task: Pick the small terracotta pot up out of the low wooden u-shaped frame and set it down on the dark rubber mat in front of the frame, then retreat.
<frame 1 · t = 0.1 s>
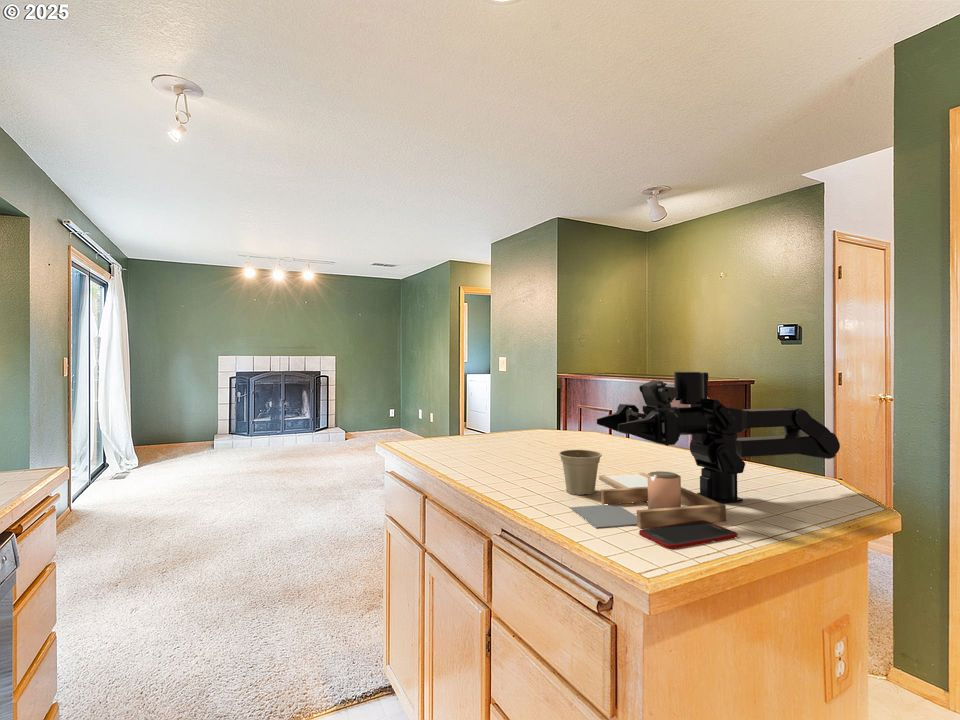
hand: (607, 424, 98), 17 cm above the table, tool horizontal, fingers open, 9 cm apart
mat: (607, 515, 92), on the table
wooden u-shaped frame: (659, 511, 95), on the table
flower pot: (580, 492, 109), on the table
cell phone: (687, 538, 82), on the table
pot: (664, 511, 95), resting in wooden u-shaped frame
wood framed whiteboard: (639, 486, 114), on the table
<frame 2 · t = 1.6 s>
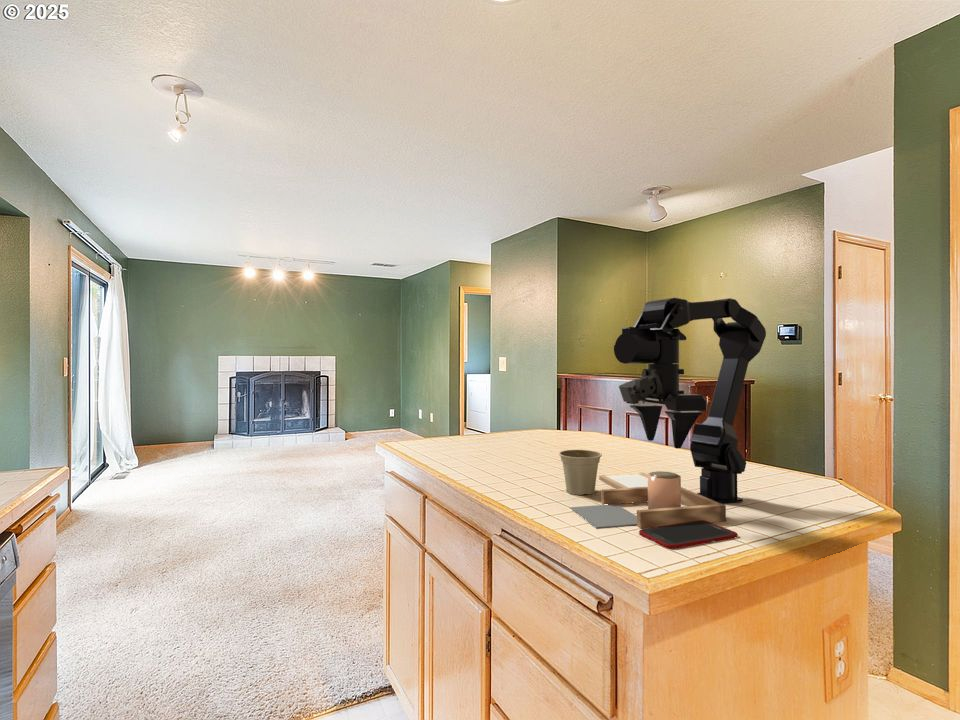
hand: (663, 444, 95), 13 cm above the table, tool pointing down, fingers open, 9 cm apart
nothing on the table moved.
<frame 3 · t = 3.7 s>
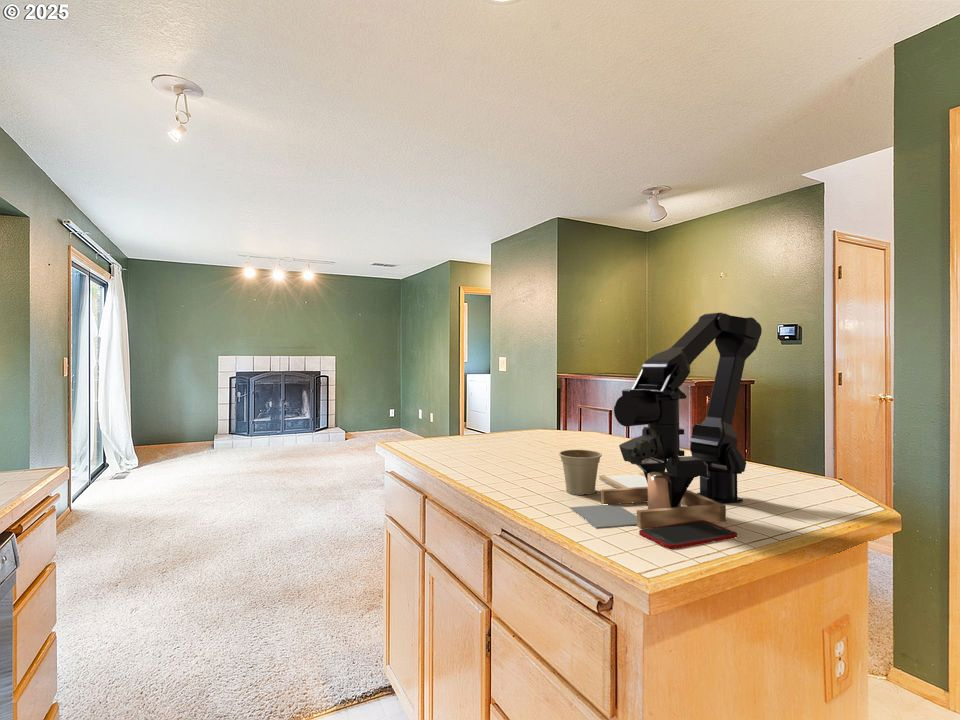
hand: (664, 503, 95), 2 cm above the table, tool pointing down, fingers closed on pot, 6 cm apart
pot: (664, 511, 95), resting in wooden u-shaped frame, touching gripper
everything else where it was.
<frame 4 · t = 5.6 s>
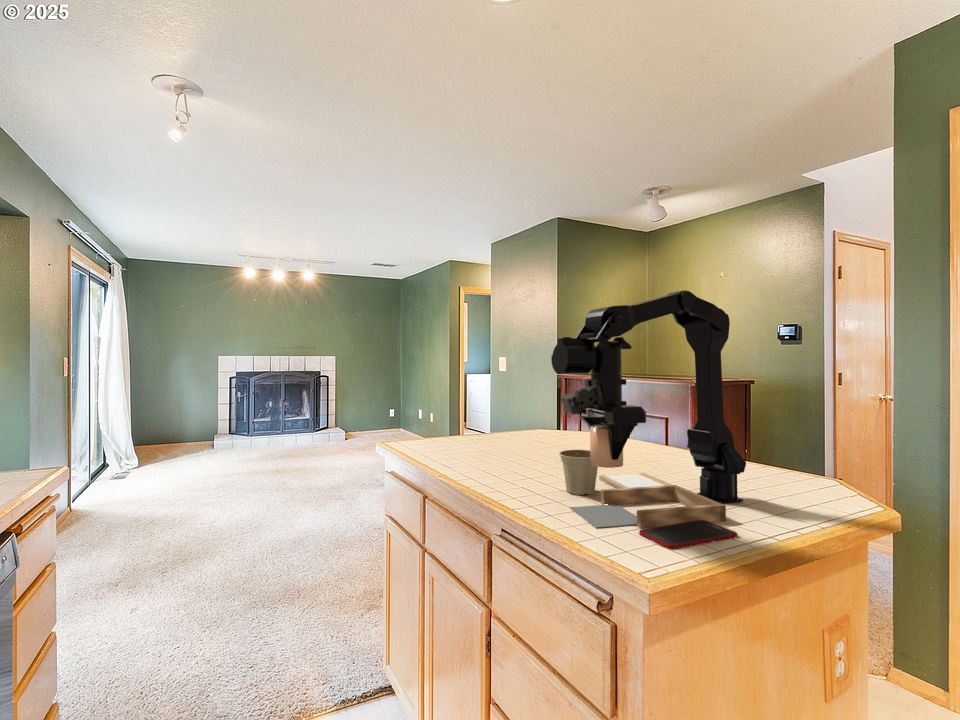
hand: (606, 456, 92), 11 cm above the table, tool pointing down, fingers closed on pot, 6 cm apart
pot: (606, 464, 92), point 10 cm above the table, touching gripper
everything else where it was.
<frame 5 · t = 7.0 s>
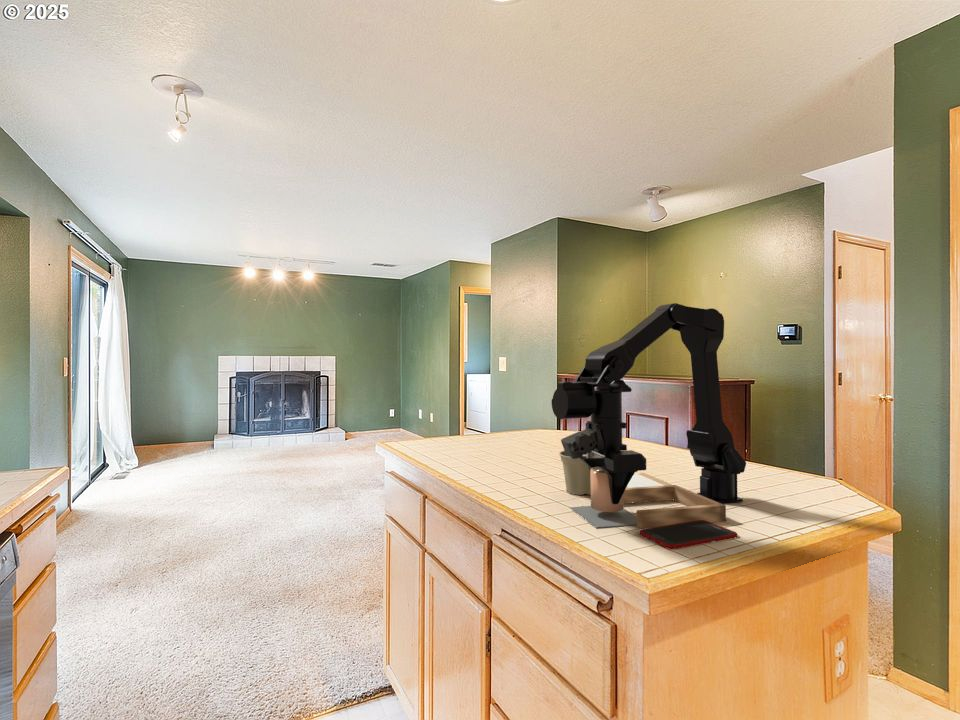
hand: (607, 499, 92), 3 cm above the table, tool pointing down, fingers closed on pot, 6 cm apart
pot: (607, 507, 92), point 2 cm above the table, touching gripper
everything else where it was.
when the fingers open (3 cm above the table, at t = 7.9 s): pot drops 1 cm, resting on mat.
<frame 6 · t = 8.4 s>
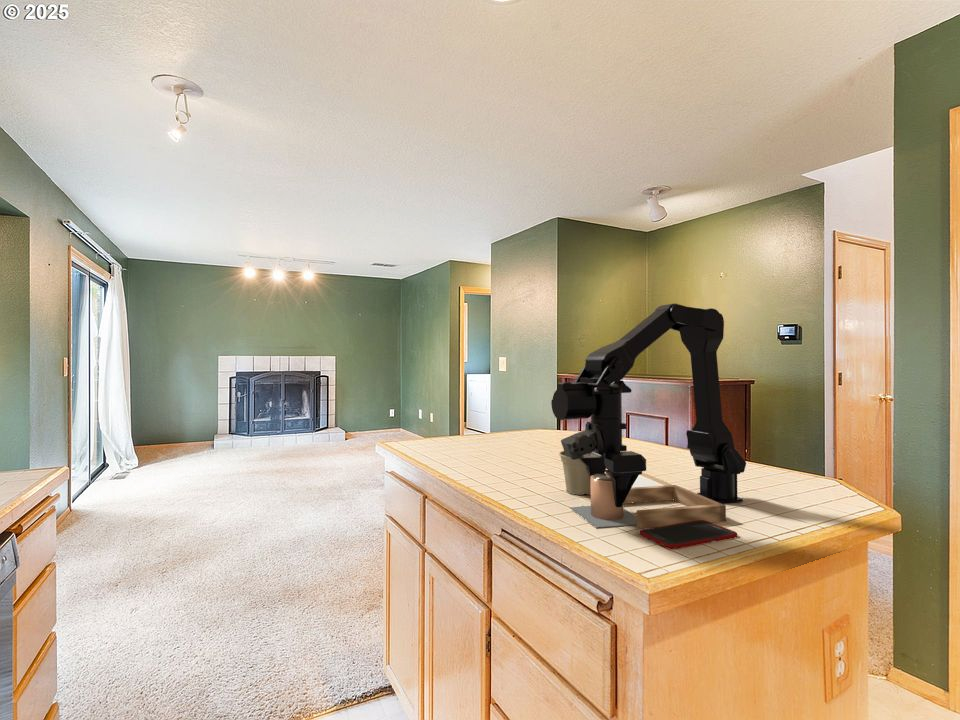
hand: (607, 499, 92), 3 cm above the table, tool pointing down, fingers open, 9 cm apart
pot: (607, 514, 92), resting on mat
everything else where it was.
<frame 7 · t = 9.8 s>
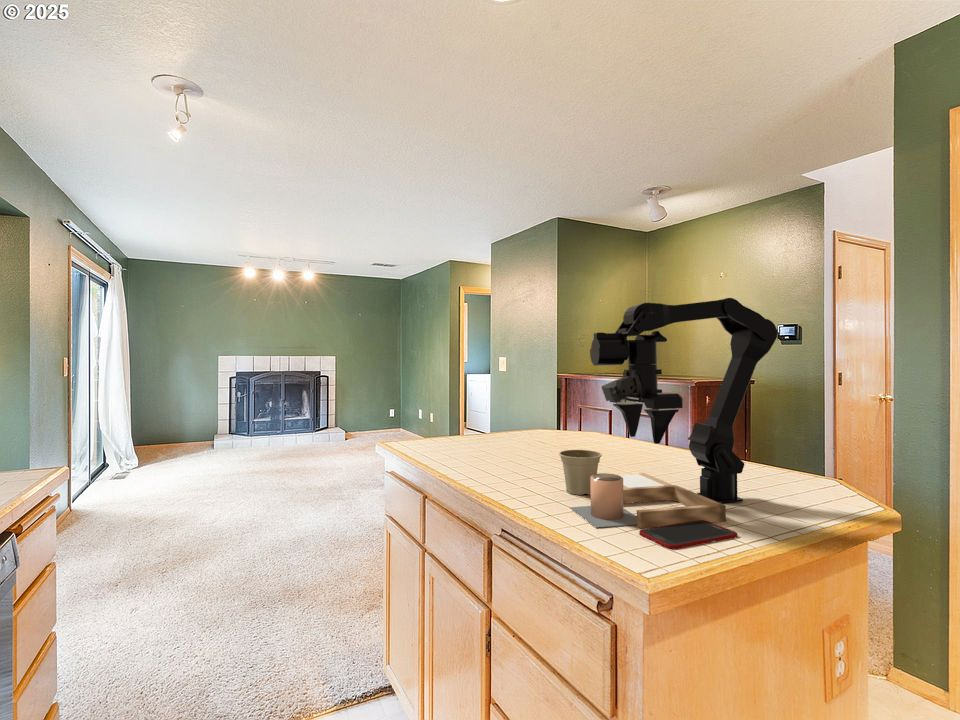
hand: (644, 440, 101), 13 cm above the table, tool pointing down, fingers open, 9 cm apart
nothing on the table moved.
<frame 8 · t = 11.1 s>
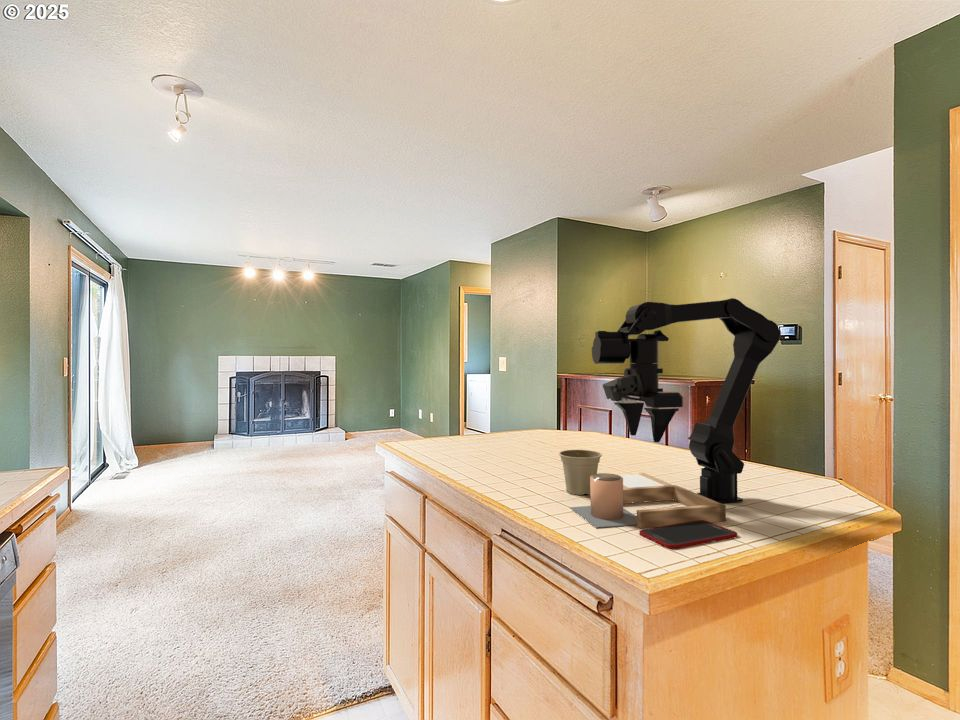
hand: (644, 438, 102), 13 cm above the table, tool pointing down, fingers open, 9 cm apart
nothing on the table moved.
at the end: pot inside the target area (0.0 cm from its centre), resting on mat; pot tilted 0°; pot moved 12.0 cm from its start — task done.
